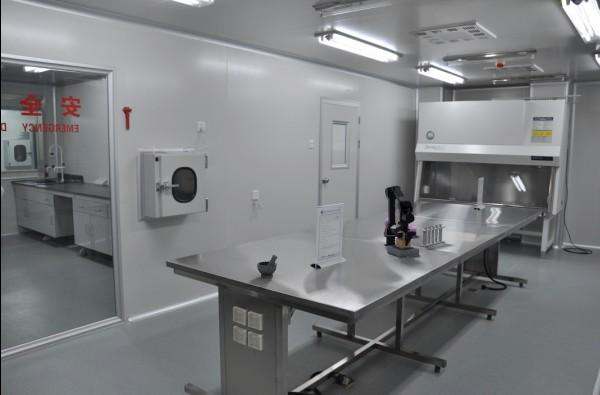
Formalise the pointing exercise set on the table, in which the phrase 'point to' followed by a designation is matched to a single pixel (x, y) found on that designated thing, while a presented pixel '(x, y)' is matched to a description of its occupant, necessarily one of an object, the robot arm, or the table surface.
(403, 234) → the container set
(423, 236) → the test tube rack
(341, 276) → the table surface
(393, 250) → the large crate
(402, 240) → the small crate
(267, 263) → the mortar and pestle
